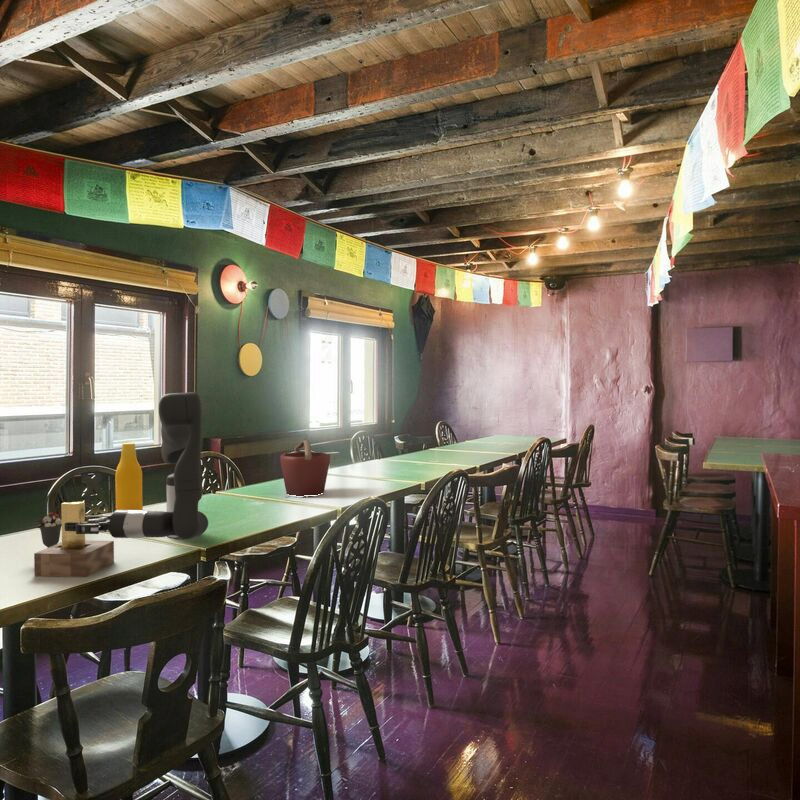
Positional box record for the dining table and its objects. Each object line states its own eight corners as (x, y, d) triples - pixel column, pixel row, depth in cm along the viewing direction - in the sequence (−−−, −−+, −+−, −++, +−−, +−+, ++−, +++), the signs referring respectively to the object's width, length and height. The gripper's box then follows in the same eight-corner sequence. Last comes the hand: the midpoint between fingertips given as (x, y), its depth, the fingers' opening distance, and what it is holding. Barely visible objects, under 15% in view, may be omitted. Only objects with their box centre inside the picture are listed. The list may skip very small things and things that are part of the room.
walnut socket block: (66, 560, 175) (66, 540, 175) (114, 561, 174) (113, 540, 174) (34, 575, 161) (34, 553, 161) (85, 576, 160) (85, 554, 160)
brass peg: (68, 565, 170) (67, 501, 170) (88, 566, 170) (88, 501, 170) (58, 570, 166) (57, 504, 165) (79, 571, 166) (78, 504, 165)
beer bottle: (132, 524, 221) (131, 444, 221) (110, 523, 223) (109, 444, 222) (148, 519, 230) (147, 442, 230) (126, 518, 232) (125, 442, 231)
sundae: (68, 555, 180) (68, 505, 180) (56, 562, 174) (56, 509, 173) (46, 556, 180) (45, 505, 180) (33, 562, 174) (32, 510, 173)
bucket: (285, 490, 296) (285, 438, 295) (331, 489, 297) (331, 438, 297) (278, 499, 271) (278, 443, 271) (328, 498, 273) (328, 442, 272)
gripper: (144, 505, 174) (89, 504, 175) (118, 515, 159) (58, 514, 160) (144, 531, 174) (89, 530, 175) (118, 544, 159) (58, 543, 161)
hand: (74, 523), depth 168 cm, fingers open, 8 cm apart
